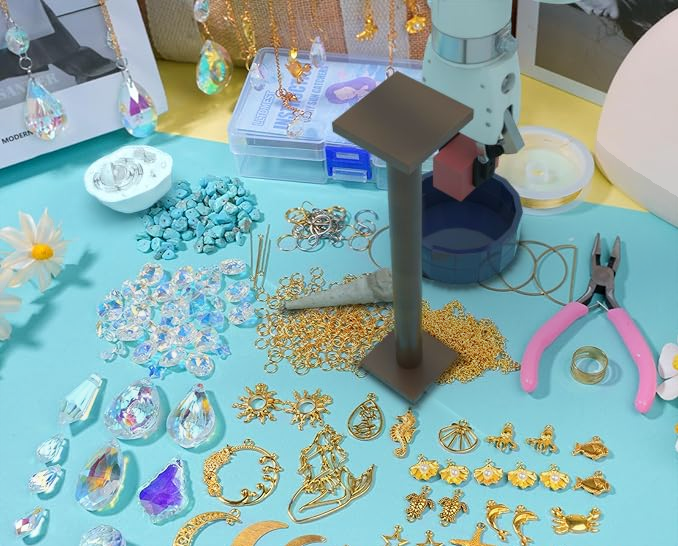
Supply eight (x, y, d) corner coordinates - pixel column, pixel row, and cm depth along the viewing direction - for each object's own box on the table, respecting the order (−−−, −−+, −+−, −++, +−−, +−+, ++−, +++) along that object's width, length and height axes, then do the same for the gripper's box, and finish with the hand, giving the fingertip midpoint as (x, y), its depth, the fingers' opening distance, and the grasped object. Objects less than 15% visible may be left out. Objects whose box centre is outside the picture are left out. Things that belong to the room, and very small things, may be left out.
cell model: (186, 213, 111) (173, 177, 106) (98, 234, 111) (80, 198, 105) (177, 163, 117) (164, 126, 112) (93, 182, 116) (76, 145, 111)
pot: (449, 182, 111) (450, 148, 106) (540, 233, 104) (546, 200, 99) (377, 247, 105) (374, 215, 100) (469, 306, 99) (471, 274, 94)
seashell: (417, 302, 100) (416, 286, 96) (290, 328, 100) (283, 313, 96) (410, 272, 102) (408, 254, 98) (285, 298, 102) (278, 281, 98)
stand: (405, 322, 98) (396, 70, 69) (458, 358, 95) (474, 109, 65) (360, 366, 95) (331, 122, 66) (413, 405, 92) (408, 165, 62)
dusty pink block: (470, 152, 98) (471, 122, 94) (498, 166, 96) (500, 136, 92) (433, 186, 95) (432, 157, 91) (460, 201, 93) (461, 172, 90)
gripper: (566, 42, 77) (546, 183, 92) (427, -16, 85) (429, 123, 100) (519, 85, 75) (506, 223, 90) (379, 21, 82) (389, 158, 97)
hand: (466, 169), depth 95 cm, fingers closed on dusty pink block, 4 cm apart
